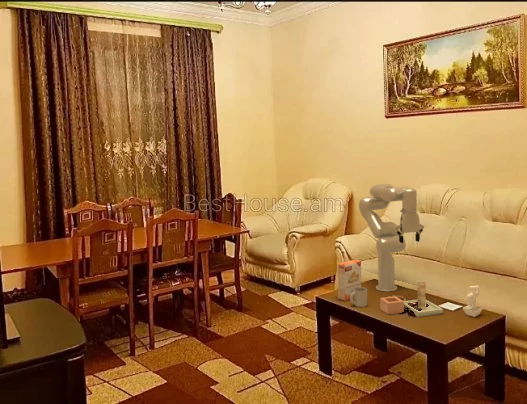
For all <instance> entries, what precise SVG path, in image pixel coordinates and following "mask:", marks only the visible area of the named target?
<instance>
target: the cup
mask: <svg viewBox="0 0 527 404" xmlns="http://www.w3.org/2000/svg"><path fill="white" fill-rule="evenodd" d="M353 296H354V298H353ZM349 301H350V303H351V304H352V305H354V306H355V307H359V308H360V307H361V308H365V307H367V305H368V289H367V288H366V287H363V286H361V287H357V288H354V292H352V293H351V295H350V299H349Z"/></svg>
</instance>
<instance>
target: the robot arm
mask: <svg viewBox="0 0 527 404" xmlns="http://www.w3.org/2000/svg"><path fill="white" fill-rule="evenodd" d="M417 193H418V192H417V190H416V189H415V188H410V187H408V186H402V187H394V186H393V185H392V184H389V183H383V184H375V185H372V187H370V190H369V194H370V196H365V197H363V198H361V199H360V201H359V202H358V209H359V213H360V214H361V216H362V217H363V219H364V220H365V222H366V223H367V225H368V227H369V229H370V232H371V233H372V236H374V238H376V239H377V240H376V243H375V245H376V252H377V269H378V270H377V273H378V275H377V278H378V279H377V283H378V284H377V285H375V288H376V289H375V290H377V291H380V292H394V291H397V290H398V286H397V285H395V258H394V257H393V255H392V253H398V252H402V251H404V250H405V249H406V245H407V244H406V240H405V238H404V236H403V235H404V234H405V233H408V234H409V233H415V236H414V237H415V242H418V243H419V242H420V240H421V237H420V236H421V234H422V232H423V231H424V228H425V225H423V224H421V222H420V216H419V213H418V212H417V206H418V205H417V204H418V203H417V201H418V199H417V196H418V195H417ZM390 202H393V203H394V202H402V203H401V204H402V207H401V209H400V210H399V212H400V213H401V214H400V219H399V224H398V225H397V223H395V222H393V221H385V222H384V221H383V220H382V219H381V217H380V215H379V214H378V213H376V212H375V211H377V210H378V211H379V210H384V209H386V208H387V207H388V205H389V204H390Z"/></svg>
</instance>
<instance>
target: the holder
mask: <svg viewBox="0 0 527 404" xmlns="http://www.w3.org/2000/svg"><path fill="white" fill-rule="evenodd" d="M404 301H405V300H402V299H400V298H399V297H398V296H387V297H380V298H379V304H380V305H379V306H380V307H379V308H380V310H381V311H383V313H385V314H387V315H395V314H396V315H397V314H402V312H405V308H404Z"/></svg>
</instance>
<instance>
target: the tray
mask: <svg viewBox="0 0 527 404" xmlns="http://www.w3.org/2000/svg"><path fill="white" fill-rule="evenodd" d="M403 301H404V305H405V306H407V307H408V308H410V309H411V310H412V311H413V312H414V314H415V315H414V314H413V315H414V316H416V317H417V318H421V317H428V316H429V317H430V316H439V315H443V314H444V309H443V308H441V307H440V306H438V305H436V304H435V303H432V302H431V301H429V300H427V299H426V303H427V304H428V305H429V306H428V307H426V309H424V310H421V311H418V310H416V309H414V308H413V307H411V306H409V305H408V303H411V302H418V299H412V300H411V299H410V300H403Z"/></svg>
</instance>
